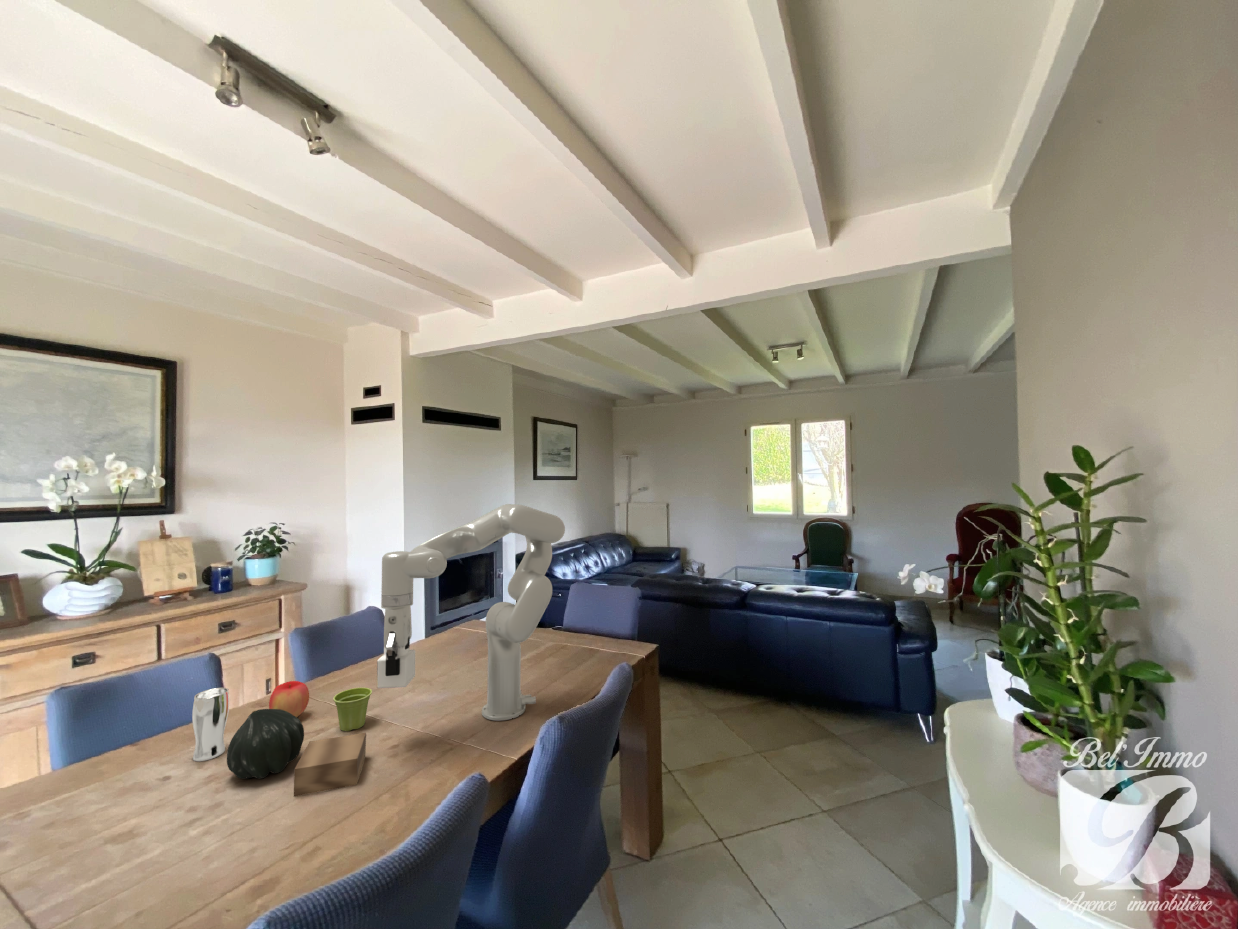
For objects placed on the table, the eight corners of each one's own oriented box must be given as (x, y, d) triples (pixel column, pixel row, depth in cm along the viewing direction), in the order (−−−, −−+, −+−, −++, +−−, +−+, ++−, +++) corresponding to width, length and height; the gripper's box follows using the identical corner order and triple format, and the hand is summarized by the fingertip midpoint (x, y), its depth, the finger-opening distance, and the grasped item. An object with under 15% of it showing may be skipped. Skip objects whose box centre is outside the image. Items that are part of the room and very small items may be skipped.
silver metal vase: (233, 750, 121) (236, 689, 122) (202, 765, 114) (205, 700, 115) (215, 745, 123) (218, 685, 124) (183, 759, 117) (186, 696, 117)
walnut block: (365, 757, 118) (366, 732, 118) (356, 786, 106) (357, 758, 107) (308, 767, 114) (309, 741, 114) (293, 798, 102) (294, 769, 103)
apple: (260, 723, 135) (262, 687, 135) (296, 709, 143) (297, 675, 144) (279, 731, 130) (281, 693, 131) (315, 716, 139) (316, 681, 139)
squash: (326, 726, 122) (283, 684, 120) (297, 761, 107) (248, 714, 106) (280, 767, 120) (236, 726, 118) (244, 809, 105) (193, 762, 104)
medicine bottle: (387, 677, 126) (388, 631, 127) (415, 676, 127) (415, 630, 128) (376, 689, 119) (376, 640, 120) (405, 687, 120) (406, 639, 121)
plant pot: (354, 736, 127) (355, 703, 128) (324, 733, 129) (325, 700, 130) (378, 720, 137) (379, 689, 137) (350, 716, 138) (351, 686, 139)
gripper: (405, 607, 116) (404, 681, 116) (419, 592, 133) (418, 656, 133) (372, 609, 115) (370, 684, 114) (390, 593, 132) (389, 658, 131)
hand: (396, 668), depth 123 cm, fingers closed on medicine bottle, 7 cm apart
